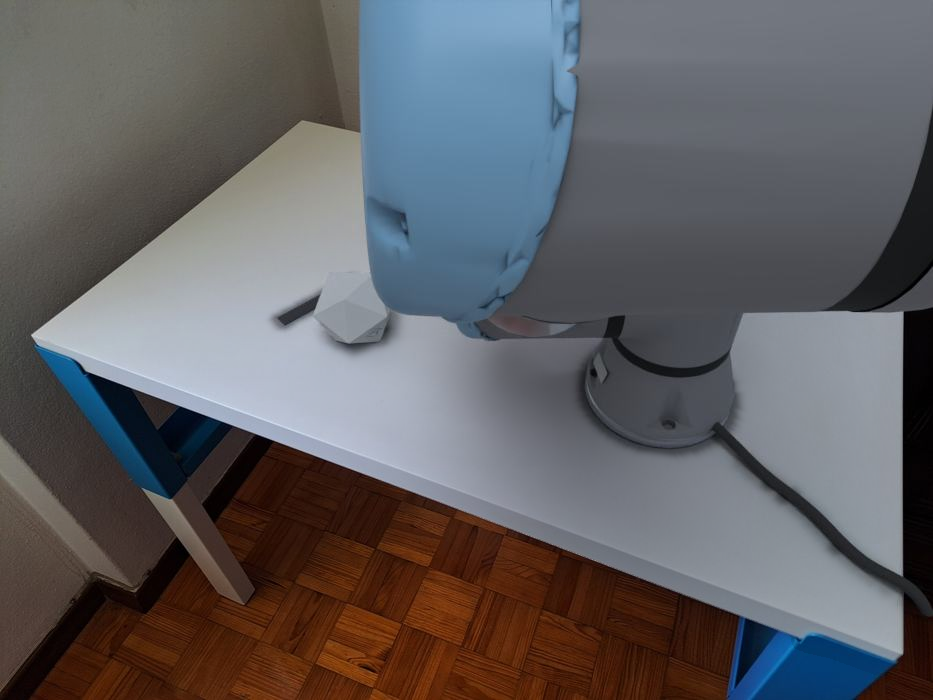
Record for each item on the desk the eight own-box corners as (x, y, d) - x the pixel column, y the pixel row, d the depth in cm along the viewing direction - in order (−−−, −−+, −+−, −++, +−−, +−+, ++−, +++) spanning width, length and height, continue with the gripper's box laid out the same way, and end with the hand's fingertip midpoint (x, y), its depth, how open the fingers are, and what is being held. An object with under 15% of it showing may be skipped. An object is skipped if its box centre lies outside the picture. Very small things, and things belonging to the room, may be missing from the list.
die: (362, 375, 78) (403, 305, 74) (291, 336, 77) (329, 264, 73) (376, 344, 86) (414, 279, 82) (312, 308, 84) (348, 241, 80)
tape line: (358, 284, 88) (358, 284, 88) (284, 325, 84) (284, 324, 83) (351, 278, 89) (351, 277, 89) (277, 318, 84) (277, 317, 84)
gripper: (641, -230, 49) (607, 91, 66) (515, -239, 56) (514, 52, 73) (567, -215, 45) (552, 118, 62) (443, -227, 53) (460, 74, 70)
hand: (531, 82), depth 68 cm, fingers closed
